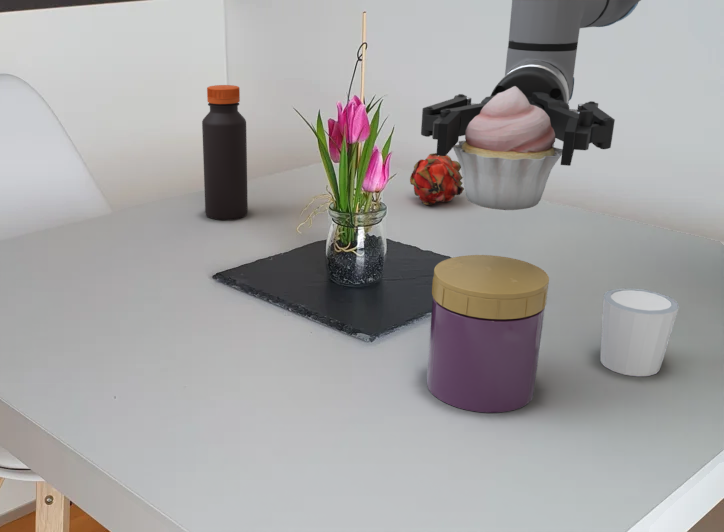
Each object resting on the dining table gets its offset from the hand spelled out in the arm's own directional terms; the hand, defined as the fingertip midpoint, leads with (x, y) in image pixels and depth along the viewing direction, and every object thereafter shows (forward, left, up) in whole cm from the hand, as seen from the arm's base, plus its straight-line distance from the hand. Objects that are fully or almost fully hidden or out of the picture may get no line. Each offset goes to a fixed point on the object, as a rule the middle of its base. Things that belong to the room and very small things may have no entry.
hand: (503, 144), depth 68 cm
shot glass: (-13, -13, -24) cm, 31 cm away
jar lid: (0, -3, -13) cm, 13 cm away
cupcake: (0, -4, -6) cm, 8 cm away
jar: (0, -3, -24) cm, 24 cm away
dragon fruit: (+16, -67, -24) cm, 73 cm away
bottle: (+46, -48, -24) cm, 71 cm away
